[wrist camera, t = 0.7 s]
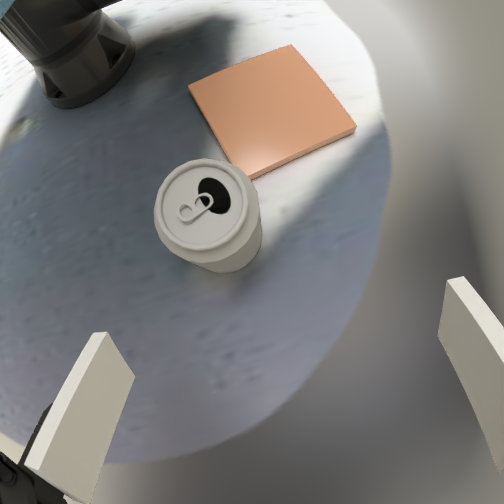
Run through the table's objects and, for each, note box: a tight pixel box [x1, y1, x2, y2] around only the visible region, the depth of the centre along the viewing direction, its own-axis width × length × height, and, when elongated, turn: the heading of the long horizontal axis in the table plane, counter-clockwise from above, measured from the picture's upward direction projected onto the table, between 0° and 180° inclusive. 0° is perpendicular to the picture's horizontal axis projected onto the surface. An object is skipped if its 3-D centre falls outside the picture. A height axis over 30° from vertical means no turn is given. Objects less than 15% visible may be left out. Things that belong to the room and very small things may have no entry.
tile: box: [188, 45, 357, 180], centre depth 33 cm, size 14×14×2 cm
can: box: [154, 158, 262, 273], centre depth 26 cm, size 8×8×12 cm
